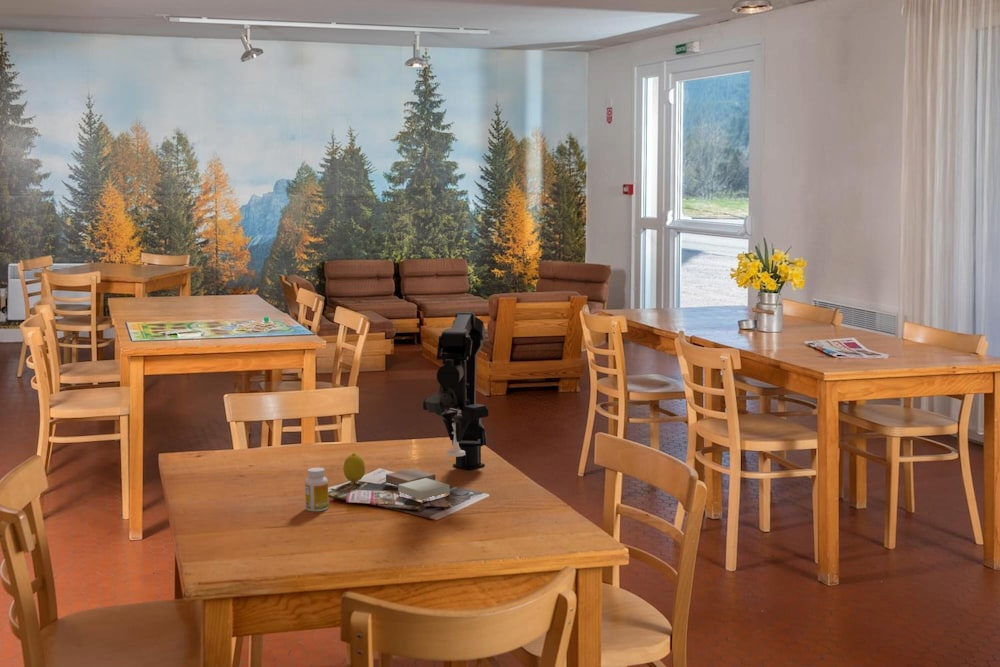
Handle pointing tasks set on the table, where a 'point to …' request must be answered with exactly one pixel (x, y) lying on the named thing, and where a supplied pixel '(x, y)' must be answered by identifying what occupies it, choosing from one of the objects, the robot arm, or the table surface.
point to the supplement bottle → (316, 490)
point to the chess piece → (455, 446)
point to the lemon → (354, 468)
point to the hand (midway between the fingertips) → (455, 440)
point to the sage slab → (424, 488)
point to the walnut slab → (408, 476)
